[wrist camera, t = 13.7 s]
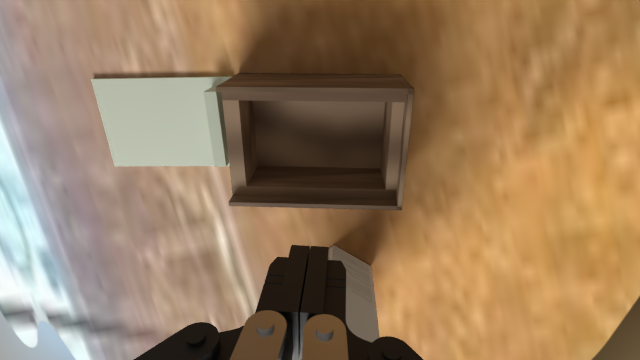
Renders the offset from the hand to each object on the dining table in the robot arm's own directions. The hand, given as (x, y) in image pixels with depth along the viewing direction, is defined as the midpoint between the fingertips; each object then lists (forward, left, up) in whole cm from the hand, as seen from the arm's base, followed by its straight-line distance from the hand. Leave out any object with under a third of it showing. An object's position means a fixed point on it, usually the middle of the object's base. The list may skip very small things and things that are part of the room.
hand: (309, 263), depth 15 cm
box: (+2, -1, -25) cm, 25 cm away
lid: (+1, -17, -26) cm, 31 cm away
